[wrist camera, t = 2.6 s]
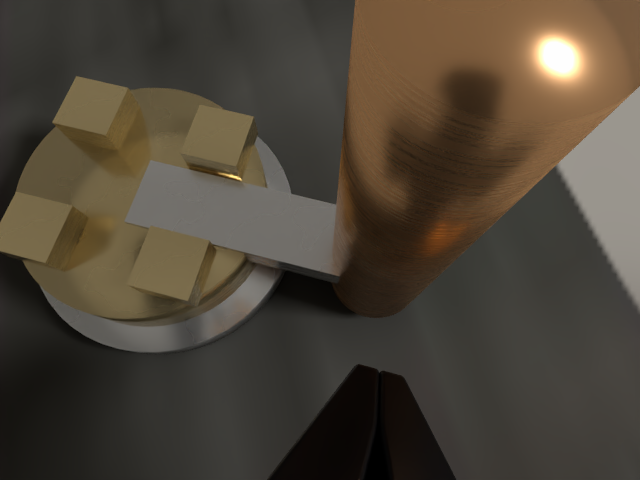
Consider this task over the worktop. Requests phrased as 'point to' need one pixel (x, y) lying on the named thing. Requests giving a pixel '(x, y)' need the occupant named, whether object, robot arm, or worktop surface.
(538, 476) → the worktop surface
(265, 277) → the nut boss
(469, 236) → the bronze dome and bar
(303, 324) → the worktop surface
